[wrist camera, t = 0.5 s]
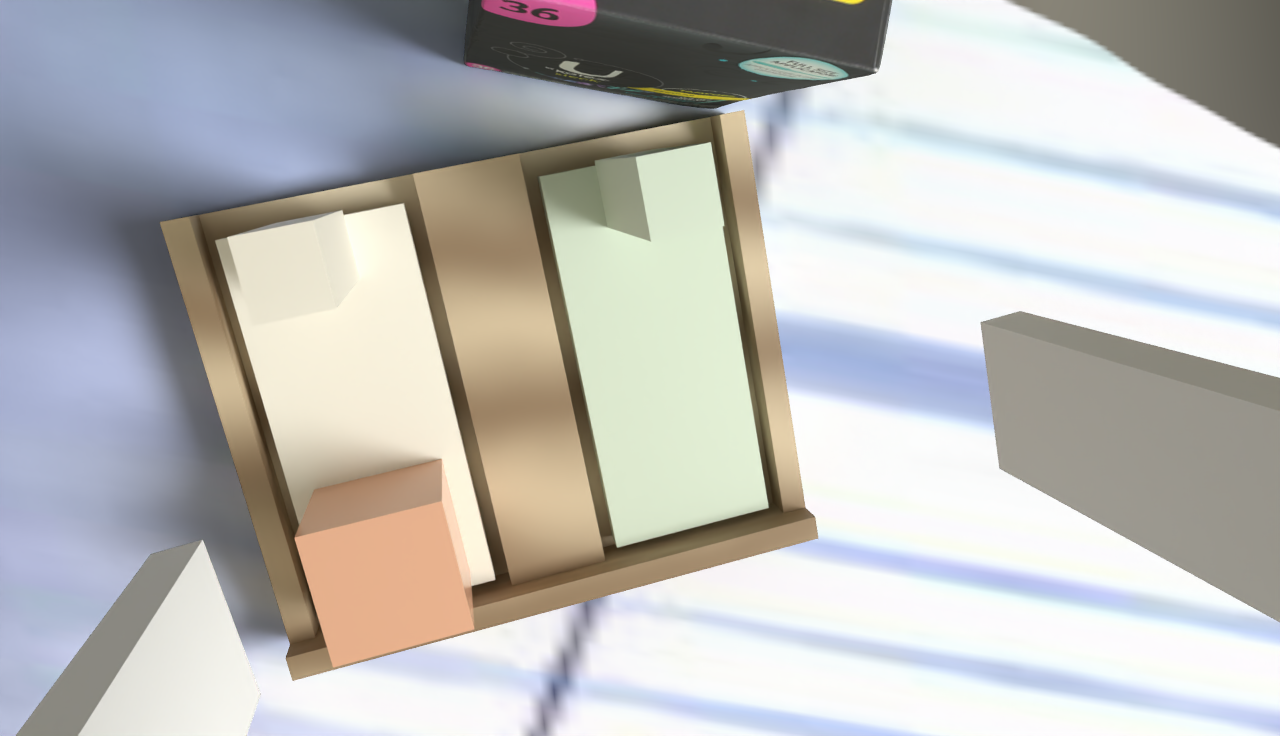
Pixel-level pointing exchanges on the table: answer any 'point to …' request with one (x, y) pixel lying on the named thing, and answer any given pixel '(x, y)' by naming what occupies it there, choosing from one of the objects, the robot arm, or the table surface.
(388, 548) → the cube
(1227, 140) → the table surface
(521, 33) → the tampon box
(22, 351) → the table surface
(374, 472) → the strip cream
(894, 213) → the table surface
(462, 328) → the lane board
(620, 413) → the pale green l-shaped bracket
